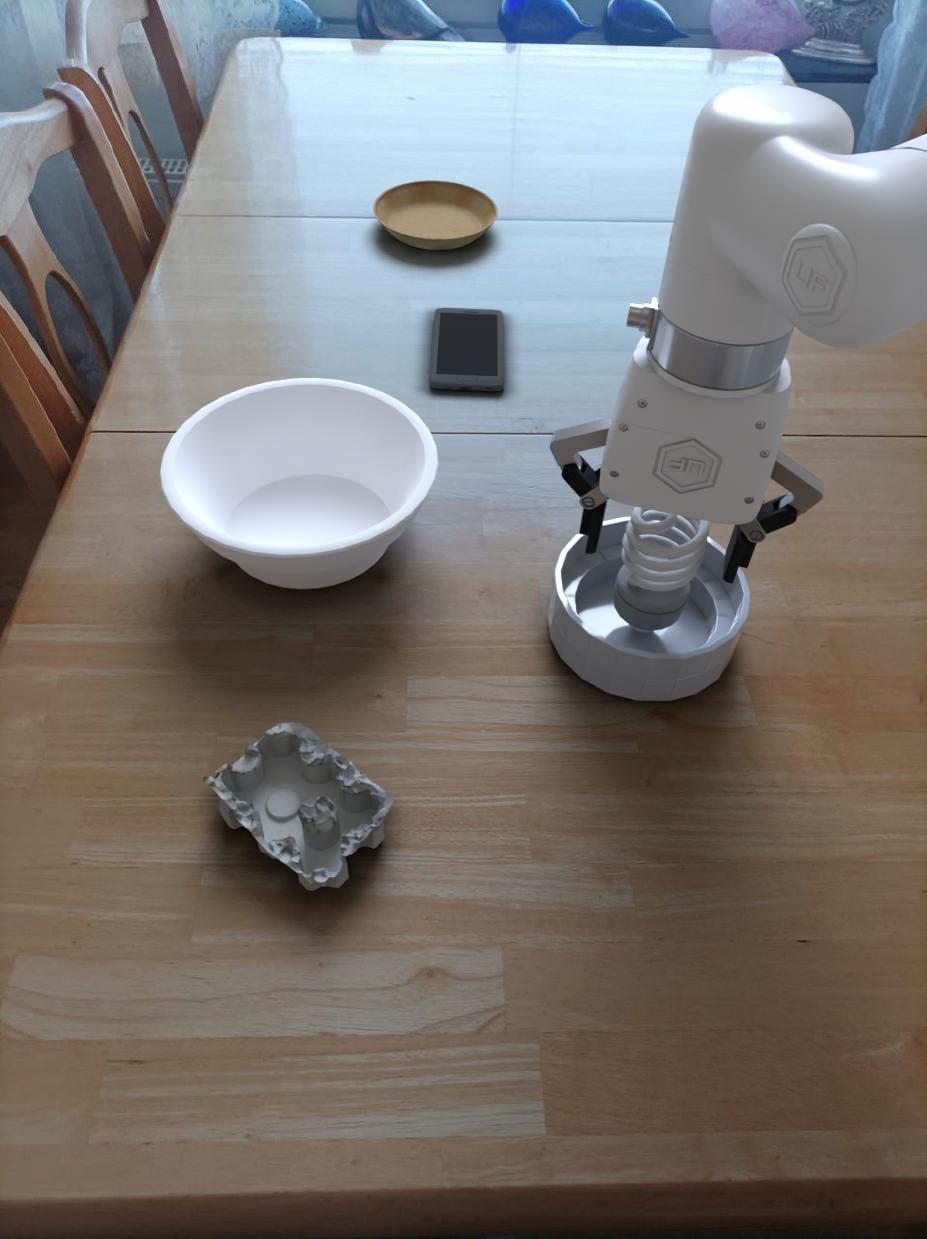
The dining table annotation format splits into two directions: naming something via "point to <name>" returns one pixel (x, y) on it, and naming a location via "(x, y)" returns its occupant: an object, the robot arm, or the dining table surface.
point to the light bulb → (658, 568)
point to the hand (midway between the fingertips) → (660, 554)
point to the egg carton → (302, 803)
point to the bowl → (300, 478)
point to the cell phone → (468, 349)
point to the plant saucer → (435, 213)
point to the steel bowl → (631, 657)
